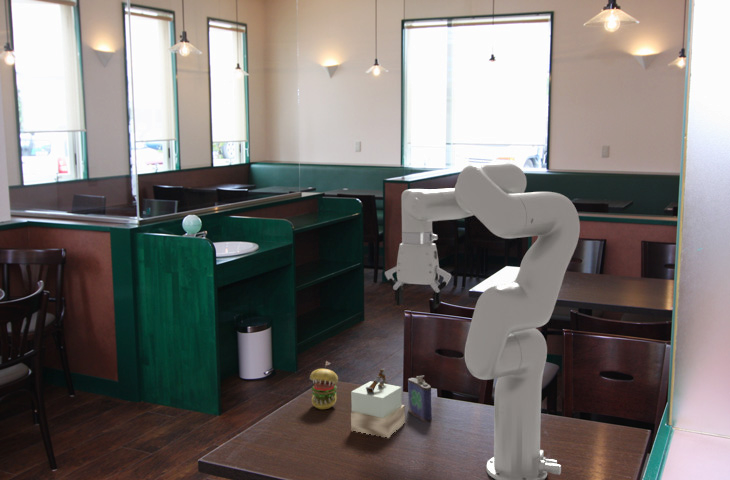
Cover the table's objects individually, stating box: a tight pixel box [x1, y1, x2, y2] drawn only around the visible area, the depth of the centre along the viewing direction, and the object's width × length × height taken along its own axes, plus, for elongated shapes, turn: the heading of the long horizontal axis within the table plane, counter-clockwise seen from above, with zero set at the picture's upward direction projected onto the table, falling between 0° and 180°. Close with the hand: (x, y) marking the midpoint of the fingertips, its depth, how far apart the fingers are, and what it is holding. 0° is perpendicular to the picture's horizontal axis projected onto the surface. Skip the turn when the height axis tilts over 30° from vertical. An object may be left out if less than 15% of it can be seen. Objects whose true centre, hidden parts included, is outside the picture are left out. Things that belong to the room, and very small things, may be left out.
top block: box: [350, 380, 403, 418], centre depth 172 cm, size 9×9×5 cm
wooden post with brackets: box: [366, 368, 388, 394], centre depth 171 cm, size 2×8×4 cm, turn 148°
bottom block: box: [350, 404, 406, 439], centre depth 172 cm, size 10×10×5 cm
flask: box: [407, 375, 433, 423], centre depth 179 cm, size 9×3×11 cm, turn 28°
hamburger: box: [309, 360, 339, 410], centre depth 186 cm, size 8×7×12 cm
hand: (417, 305), depth 176 cm, fingers open, 9 cm apart
